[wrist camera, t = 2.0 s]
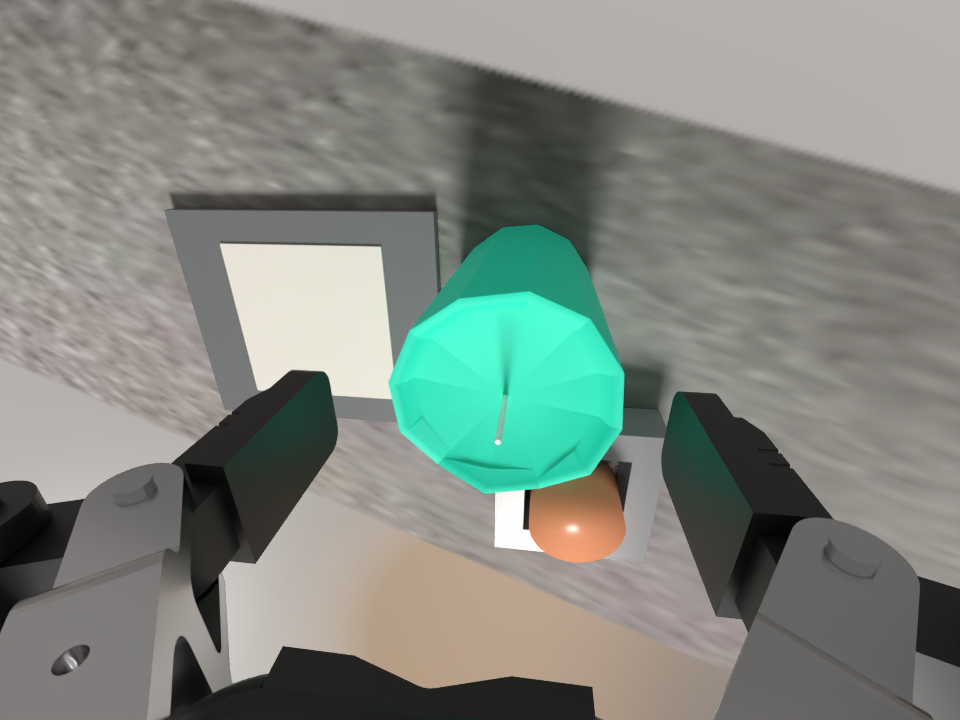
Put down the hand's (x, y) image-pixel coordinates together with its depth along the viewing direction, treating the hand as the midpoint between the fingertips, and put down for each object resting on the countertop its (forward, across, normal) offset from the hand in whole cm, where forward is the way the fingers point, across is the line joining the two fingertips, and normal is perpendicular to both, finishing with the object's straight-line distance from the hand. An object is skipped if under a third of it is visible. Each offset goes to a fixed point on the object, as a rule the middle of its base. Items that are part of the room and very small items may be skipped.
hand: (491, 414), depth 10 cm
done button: (+10, -3, +10) cm, 14 cm away
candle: (+11, 0, 0) cm, 11 cm away
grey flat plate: (+11, +10, +2) cm, 15 cm away
